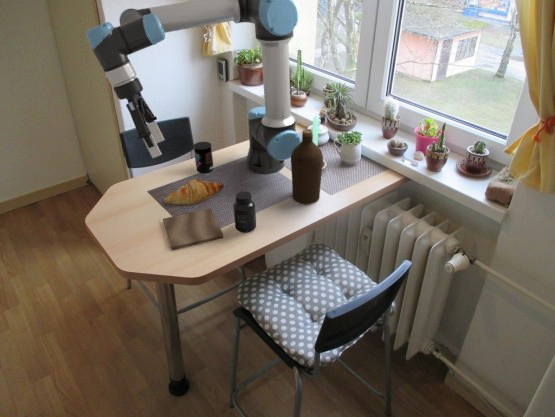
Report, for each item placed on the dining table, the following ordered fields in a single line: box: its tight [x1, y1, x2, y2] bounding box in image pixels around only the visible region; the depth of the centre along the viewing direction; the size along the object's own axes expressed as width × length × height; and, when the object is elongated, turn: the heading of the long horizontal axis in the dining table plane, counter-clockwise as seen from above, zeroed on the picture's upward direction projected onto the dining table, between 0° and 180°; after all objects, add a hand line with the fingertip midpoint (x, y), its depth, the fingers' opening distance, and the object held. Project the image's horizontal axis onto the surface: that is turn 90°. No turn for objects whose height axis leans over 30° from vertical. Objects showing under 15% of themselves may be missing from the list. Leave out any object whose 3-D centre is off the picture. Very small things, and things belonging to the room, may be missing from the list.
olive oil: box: [290, 128, 324, 205], centre depth 153 cm, size 11×11×25 cm
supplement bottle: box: [232, 190, 257, 234], centre depth 142 cm, size 7×7×12 cm
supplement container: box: [193, 141, 215, 175], centre depth 174 cm, size 7×7×10 cm
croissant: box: [163, 178, 224, 206], centre depth 159 cm, size 21×10×8 cm, turn 116°
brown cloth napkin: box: [162, 208, 225, 251], centre depth 144 cm, size 16×16×1 cm
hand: (158, 148), depth 138 cm, fingers open, 13 cm apart
